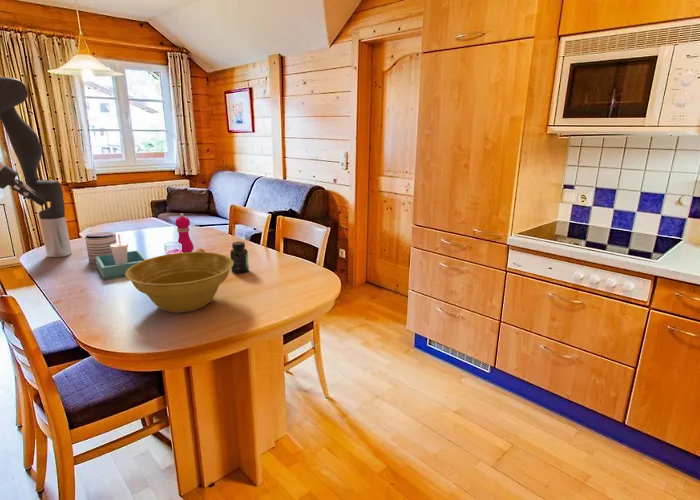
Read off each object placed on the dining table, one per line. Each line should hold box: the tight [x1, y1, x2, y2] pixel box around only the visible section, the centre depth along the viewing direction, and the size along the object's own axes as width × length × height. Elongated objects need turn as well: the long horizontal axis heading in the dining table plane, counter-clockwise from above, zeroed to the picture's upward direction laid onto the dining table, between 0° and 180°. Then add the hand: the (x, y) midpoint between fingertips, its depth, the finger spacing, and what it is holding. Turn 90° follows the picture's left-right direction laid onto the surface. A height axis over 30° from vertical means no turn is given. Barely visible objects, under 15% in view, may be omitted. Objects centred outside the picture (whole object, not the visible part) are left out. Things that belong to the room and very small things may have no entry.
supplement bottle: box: [229, 241, 250, 275], centre depth 167 cm, size 7×7×12 cm
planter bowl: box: [125, 251, 234, 313], centre depth 135 cm, size 32×32×13 cm
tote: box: [95, 249, 148, 281], centre depth 167 cm, size 18×16×5 cm
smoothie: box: [110, 233, 129, 265], centre depth 166 cm, size 6×6×14 cm
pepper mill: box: [174, 213, 195, 253], centre depth 183 cm, size 7×7×20 cm
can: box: [84, 231, 118, 265], centre depth 179 cm, size 11×11×12 cm
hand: (43, 202), depth 152 cm, fingers open, 8 cm apart
